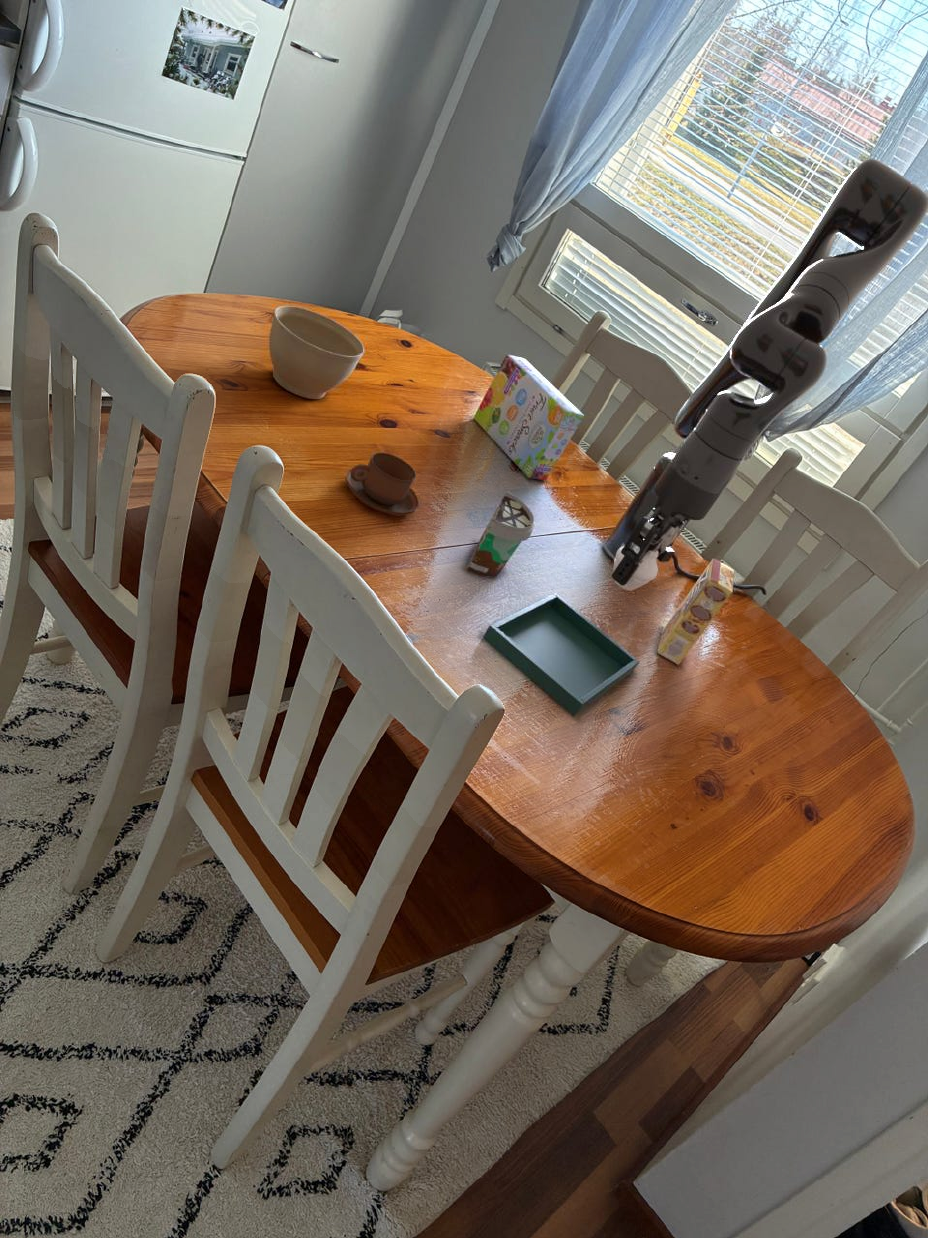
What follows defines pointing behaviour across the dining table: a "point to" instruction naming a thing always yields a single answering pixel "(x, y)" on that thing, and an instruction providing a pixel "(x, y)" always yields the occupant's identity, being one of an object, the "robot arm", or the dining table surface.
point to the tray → (561, 652)
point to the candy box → (696, 611)
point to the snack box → (527, 417)
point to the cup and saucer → (384, 484)
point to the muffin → (639, 570)
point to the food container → (502, 536)
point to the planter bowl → (311, 351)
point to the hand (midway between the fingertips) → (628, 575)
